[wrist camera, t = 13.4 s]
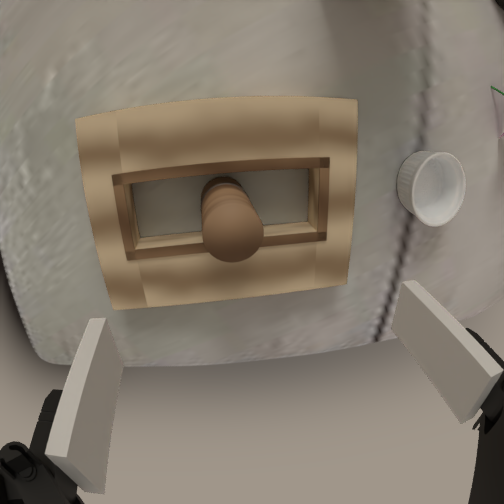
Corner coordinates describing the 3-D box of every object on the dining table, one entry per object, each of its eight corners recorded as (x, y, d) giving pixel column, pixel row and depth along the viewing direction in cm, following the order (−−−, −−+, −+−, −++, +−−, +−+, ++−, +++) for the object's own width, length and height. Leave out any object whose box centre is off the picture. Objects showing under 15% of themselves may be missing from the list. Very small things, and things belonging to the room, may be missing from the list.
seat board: (86, 117, 26) (74, 119, 23) (344, 100, 29) (358, 99, 26) (118, 295, 34) (113, 311, 31) (336, 271, 37) (347, 285, 35)
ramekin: (381, 202, 35) (401, 214, 31) (406, 134, 32) (429, 139, 28) (428, 223, 37) (449, 235, 33) (452, 163, 34) (474, 170, 30)
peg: (198, 178, 30) (198, 207, 21) (244, 174, 31) (263, 201, 22) (202, 221, 32) (205, 266, 23) (246, 216, 33) (265, 259, 24)
